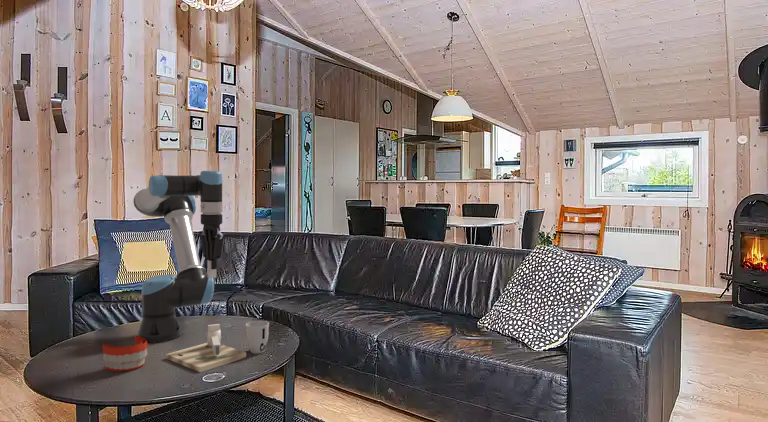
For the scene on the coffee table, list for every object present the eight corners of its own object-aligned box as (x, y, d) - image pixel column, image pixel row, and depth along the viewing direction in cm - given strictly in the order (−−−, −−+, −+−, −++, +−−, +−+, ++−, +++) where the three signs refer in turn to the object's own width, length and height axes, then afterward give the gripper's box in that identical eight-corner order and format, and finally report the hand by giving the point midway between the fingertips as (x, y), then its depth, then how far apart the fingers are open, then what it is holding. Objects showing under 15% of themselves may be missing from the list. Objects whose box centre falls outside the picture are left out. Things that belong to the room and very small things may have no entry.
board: (166, 358, 179) (166, 353, 179) (213, 345, 194) (213, 340, 194) (200, 372, 167) (200, 366, 167) (247, 356, 182) (247, 351, 182)
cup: (263, 355, 183) (263, 327, 182) (241, 354, 185) (241, 326, 184) (272, 348, 191) (272, 321, 190) (252, 346, 193) (251, 319, 192)
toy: (120, 376, 164) (119, 351, 163) (101, 369, 169) (101, 345, 169) (156, 364, 174) (156, 340, 174) (137, 358, 180) (137, 335, 179)
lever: (207, 343, 190) (206, 323, 189) (220, 341, 191) (220, 322, 191) (210, 358, 174) (210, 337, 174) (224, 356, 176) (224, 335, 176)
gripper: (192, 212, 191) (192, 276, 193) (212, 215, 183) (213, 281, 185) (210, 211, 197) (210, 273, 199) (231, 214, 189) (231, 278, 191)
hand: (212, 277), depth 192 cm, fingers closed
